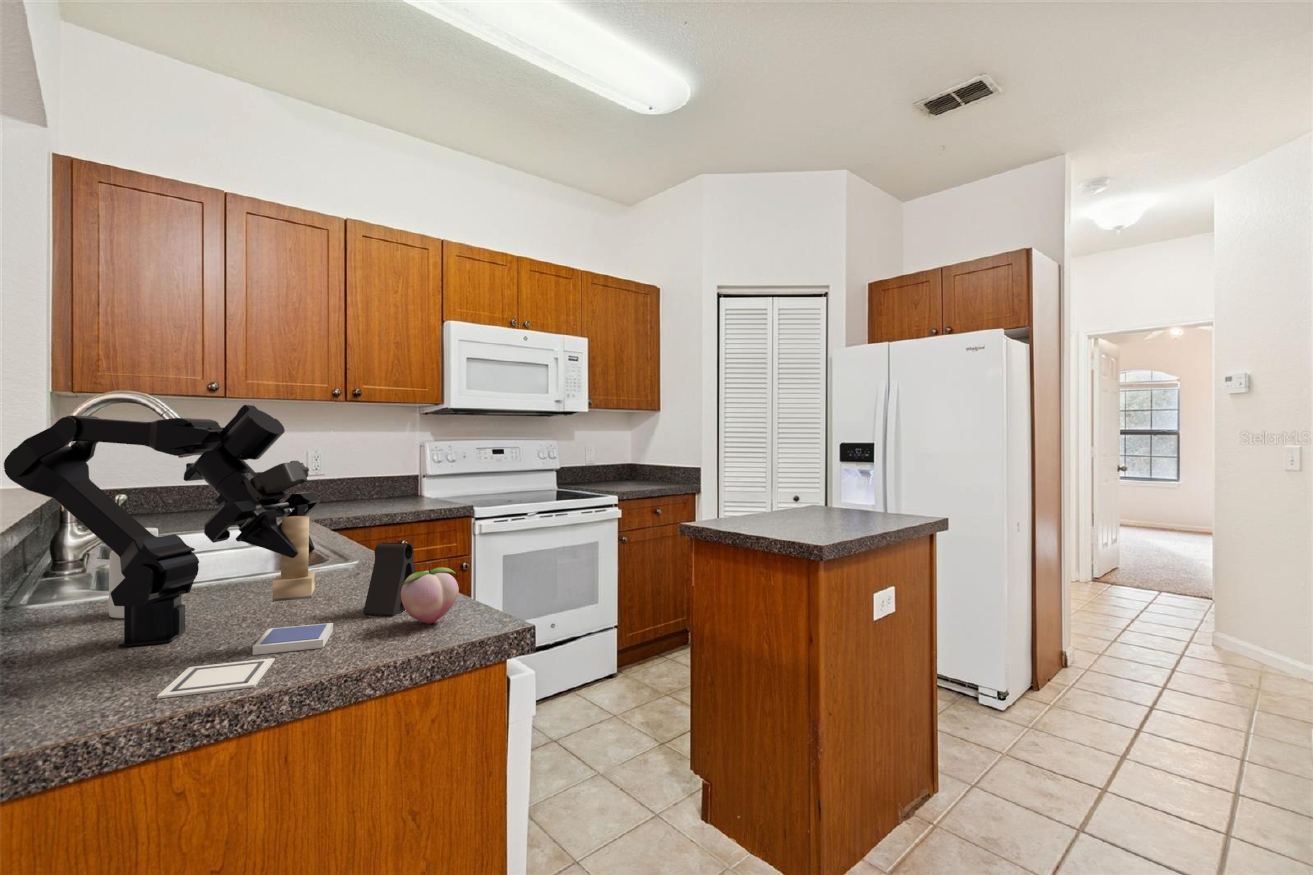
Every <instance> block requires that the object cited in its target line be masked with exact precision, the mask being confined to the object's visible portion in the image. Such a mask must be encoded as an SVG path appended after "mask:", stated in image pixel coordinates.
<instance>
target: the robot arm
mask: <svg viewBox="0 0 1313 875" xmlns="http://www.w3.org/2000/svg"><path fill="white" fill-rule="evenodd" d="M283 434H285V427H284V425H283V423H281V421H280V420H279V419H277V418H275V417H273V416H271V415H270V414H268V413H267V412H265V411H262V410H260V409H258V408H257V407H256V406H255V405H254V404H253V405H250V404H243V405H242V406H241V407H240V408H239V409H238V410H237V412H236V414H235V415H234V416H233V418H231V420H229V422H228V423H227V424H226V425H225V426H224V427H223V426H222V427H221V425H219V422H218V421H217V420H213V419H210V418H207V419H206V418H190V417H189V418H188V417H172V418H164V419H156V420H154V421H143V420H142V421H141V420H127V419H113V418H112V419H110V418H100V417H98V416H94V415H93V416H92V415H66V416H63V417H61V418H59V419H58V420H57V421H56V422H55V423H54V424H53V425H52V426H50V427H49V428H46V429H44V430H43V431H40V432H38V433H36V434H34V435H32V436H30V437H28V438H26V439H24V441H22V442H21V443H20V444H19V445H17V447H15V448H13V449H12V450H11V451H10V452H9V453H8V455H7V456H6V458H5V459H4V462H3V468H4V472H5V475H6V476H7V477H8V479H9V480H11V481H12V482H13V483H15V484H17V485H19V486H20V487H22V488H24V489H25V490H26V491H28V492H33V493H35V494H39V495H41V496H45V497H48V498H52V499H53V500H55V501H56V502H57V503H58V504H59V505H60V506H61V507H63V509H65V510H66V511H68V513H69V514H70V515H72V516H73V517H74V518H75V519H76V520H77V521H79V522H80V523H81V524H82V525H83V526H84V527H85V528H86V529H88V530H89V531H90V532H91V533H93V535H95V536H96V537H97V538H98V539H99V540H100V541H101V542H102V543H103V544H104V545H106V546H107V547H108V548H109V549H110V550H111V551H112V550H113V551H114V552H115V553H116V554H117V555H118V556H119V557H120V563H121V573H122V575H123V576H124V577H125V578H124V579H123V580H122V581H121V583H120V584H119V585H118V586H117V587H116V588H115V589H114V590H113V591H112V592H111V597H112V600H113V603H114V606H124V618H123V636H124V637H123V640H122V641H121V642H119V643H118V647H119V648H121V647H123V648H124V647H132V646H143V645H144V646H146V645H155V644H165V643H170V642H172V641H173V640H175V639H176V638H178V637H179V636H181V635H182V634H184V632H186V630H187V629H186V604H182V595H184V594H189V593H191V590H192V587H193V584H194V581H195V580H196V577H197V575H198V573H199V568H200V567H199V563H200V560H199V558H198V557H197V555H196V553H194V552H195V550H196V549H195V548H194V547H192V546H189V545H187V543H185V542H184V540H183V539H182V538H181V537H180V536H179V535H177V534H175V533H173V534H168V535H162V536H158V537H156V536H154V535H152V534H151V533H150V532H149V531H148V530H147V529H145V528H146V527H144V525H142V524H141V523H140V522H139V521H137V520H136V518H134V517H133V516H132V515H131V514H130V513H128V512H127V511H126V510H125V509H124V508H123V507H122V506H121V505H119V503H117V502H116V501H115V500H114V499H113V498H111V497H110V496H109V495H108V494H106V492H104V490H102V489H101V488H100V487H99V485H97V484H96V483H95V482H93V481H92V480H91V478H90V467H89V464H88V463H87V462H89V461H90V460H91V459H92V458H93V457H94V456H95V453H96V447H97V445H98V443H108V444H119V445H120V444H122V445H132V446H133V445H135V446H145V447H148V448H151V449H153V450H154V451H155V452H160V453H164V454H168V455H170V456H177V457H179V456H180V457H181V456H183V457H184V456H185V457H186V456H199V457H198V458H197V459H196V460H195V461H194V462H187V463H186V464H185V471H184V473H183V480H184V481H185V482H190V481H191V482H193V481H203V480H204V481H205V482H206V483H207V484H208V486H209V487H211V489H212V490H213V491H215V493H216V494H217V495H218V496H217V497H216V498H215V502H216V503H217V505H218V506H220V507H219V508H218V509H217V510H216V512H214V513H213V514H212V516H210V518H209V519H208V520H207V521H206V522H204V525H203V534H204V536H206V537H207V538H208V539H209V541H210V542H212V543H219V542H223V541H228V539H229V538H230V535H231V532H230V531H229V528H230V527H233V526H237V527H238V530H239V531H240V533H239V534H238V535H237V536H236V537H235V541H237V543H239V542H243V543H245V544H250V545H253V546H255V547H258V548H261V549H266V550H268V551H271V552H273V553H277V554H279V555H281V554H282V555H284V556H287V557H290V558H295V557H296V556H297V555H298V551H297V550H296V548H295V547H294V545H293V544H292V543H291V541H290V540H289V539H288V538H287V536H286V535H285V534H284V532H283V531H282V518H283V517H291V516H308V515H309V514H310V513H311V511H313V509H314V508H316V506H318V505H319V503H320V502H321V499H320V498H319V497H318V496H317V495H316V494H315V493H314V492H313V491H303V492H295V493H292V494H290V496H289V497H287V499H286V500H285V501H283V502H281V500H282V499H285V498H286V496H287V495H288V494H289V492H288V491H287V490H289V489H291V488H293V487H295V486H297V485H299V484H304V483H306V482H308V477H309V472H310V468H309V467H307V466H305V465H304V463H303V462H300V461H299V460H290V462H282V463H279V464H277V465H274V466H273V467H270V468H268V469H266V470H265V471H258V472H256V471H255V470H254V469H253V468H252V467H251V466H250V464H248V463H247V462H246V461H249V460H254V461H255V460H259V459H260V458H261V457H262V456H264V454H265V453H266V452H268V450H269V449H270V448H271V447H272V446H273V445H274V444H275V443H276V442H277V440H279V439H280V437H282V435H283ZM71 442H73V444H71ZM69 444H71V445H70V446H69ZM314 550H315V545H314V543H313V540H312V538H311V535H310V534H309V554H312V552H314Z"/></svg>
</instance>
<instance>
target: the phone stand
mask: <svg viewBox="0 0 1313 875" xmlns="http://www.w3.org/2000/svg"><path fill="white" fill-rule="evenodd" d="M374 548H375V549H374V562H373V567H372V571H371V577H370V581H369V585H368V589H367V594H366V599H365V603H364V608H363V611H362V612H363V615H366V614H367V615H368V616H369V615H370V616H381V615H383V617H384V616H385V617H395V615H396V614H398V615H400V614H402V612H403V611H405V608H404V606H403V604H402V600H401V589H402V587H403V584H404V582H405V580H406V579H407V578H408V577H409V576H410V575H411V574H413V573H416V572H417V570H416V565H415V561H414V546H413V544H412V543H407V542H406V543H401V542H399V543H398V542H381V543H377V544H376V546H375V547H374ZM405 612H406V611H405ZM403 613H404V612H403ZM367 615H366V616H367ZM396 616H397V615H396Z"/></svg>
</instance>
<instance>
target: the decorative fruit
mask: <svg viewBox="0 0 1313 875" xmlns="http://www.w3.org/2000/svg"><path fill="white" fill-rule="evenodd" d="M431 565H432V564H431V563H428V570H424V571H416V573H413V574H411V575H410V576H409V577H408V578H407V579H406V580H405V582H404V584H403V587H402V589H401V600H402V604H403V606H404V608H405V610H406V611H405V612H406V613H407V614H408V615H409V616H410V617H411V618H413V619H414V620H416V621H419V622H421V623H426V624H428V625H430V624H433V623H435V622H437V621H439V620H440V619H441V618H442V617H444V616H445V615H446V614H447V613H448V612H449V611H450V610H451V609H452V607H453V606H454V605H455V603H456V601H457V599H458V596H459V592H460V589H459V585H458V581H457V580H456V579H455V577H454V576H453V575H451V574H454V575H456V574H457V573H456V572H455V571H454V570H452V569H451V568H449V567H436V568H433V569H432V568H431ZM450 573H451V574H450Z"/></svg>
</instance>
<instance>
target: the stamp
mask: <svg viewBox="0 0 1313 875" xmlns="http://www.w3.org/2000/svg"><path fill="white" fill-rule="evenodd" d="M282 531H283V532H284V534H285V535H286V536H287V538H288V539H289V540H290V541H291V543H292V544H293V545H294V547H295V548H296V550H297V551H298V555H297V556H296V557H295V558H290V557H287V556H284V555H282V554H280V560H281V561H280V574H277V575H276V576H275V578H274V579H273V580H272V602H284V601H286V602H287V601H296V600H309V599H312V598H313V596H314V593H315V588H316V587H315V581H316V580H315V579H316V572H315V571H311V572H310V571H309V560H310V559H309V557H310V556H309V555H310V553H309V535H310V516H308V515H307V516H291V517H283V518H282Z"/></svg>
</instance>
